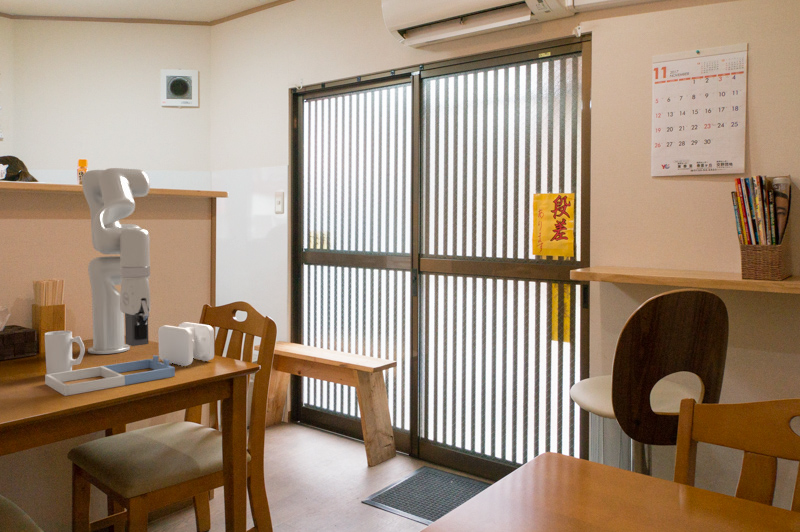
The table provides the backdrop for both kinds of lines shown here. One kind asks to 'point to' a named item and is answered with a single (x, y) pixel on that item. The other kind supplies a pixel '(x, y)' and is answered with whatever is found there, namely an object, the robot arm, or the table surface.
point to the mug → (61, 351)
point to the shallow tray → (109, 376)
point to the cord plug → (133, 331)
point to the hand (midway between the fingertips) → (137, 337)
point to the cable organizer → (186, 343)
